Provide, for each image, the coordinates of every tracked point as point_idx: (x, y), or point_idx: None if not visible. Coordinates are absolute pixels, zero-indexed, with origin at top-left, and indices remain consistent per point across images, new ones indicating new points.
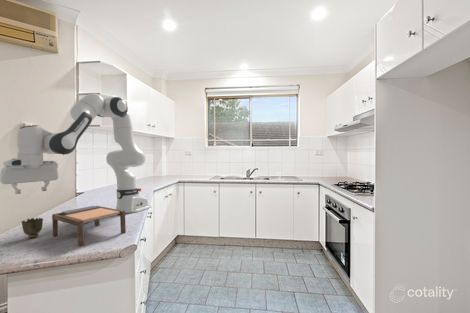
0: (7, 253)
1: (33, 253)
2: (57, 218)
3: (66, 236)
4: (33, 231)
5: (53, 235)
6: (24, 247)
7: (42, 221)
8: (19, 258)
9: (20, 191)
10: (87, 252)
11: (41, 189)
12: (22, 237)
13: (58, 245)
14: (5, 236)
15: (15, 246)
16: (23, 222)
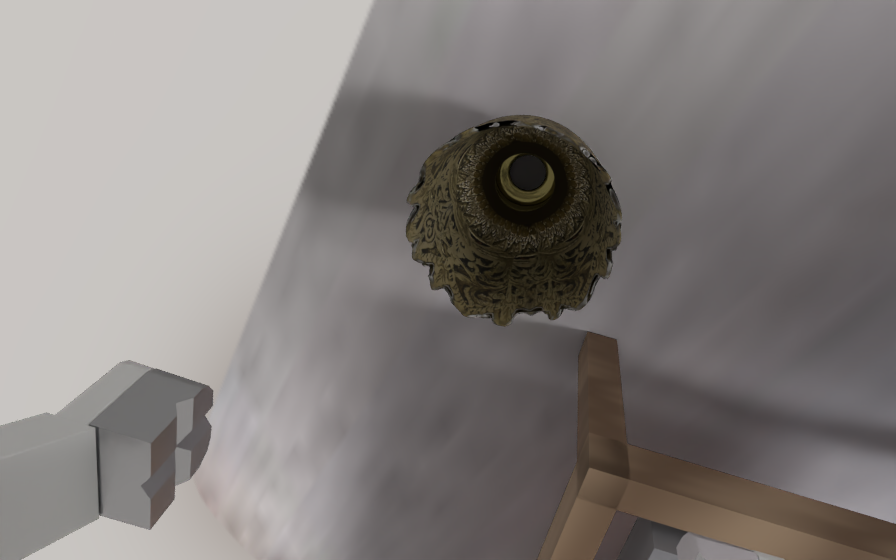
0: (253, 343)
1: (319, 483)
2: (550, 540)
3: None
4: (485, 254)
5: (583, 347)
6: (352, 344)
7: (580, 287)
8: (252, 474)
9: (173, 491)
10: None
11: (704, 553)
12: (498, 61)
13: (454, 514)
14: None
15: (338, 261)
16: (406, 233)
